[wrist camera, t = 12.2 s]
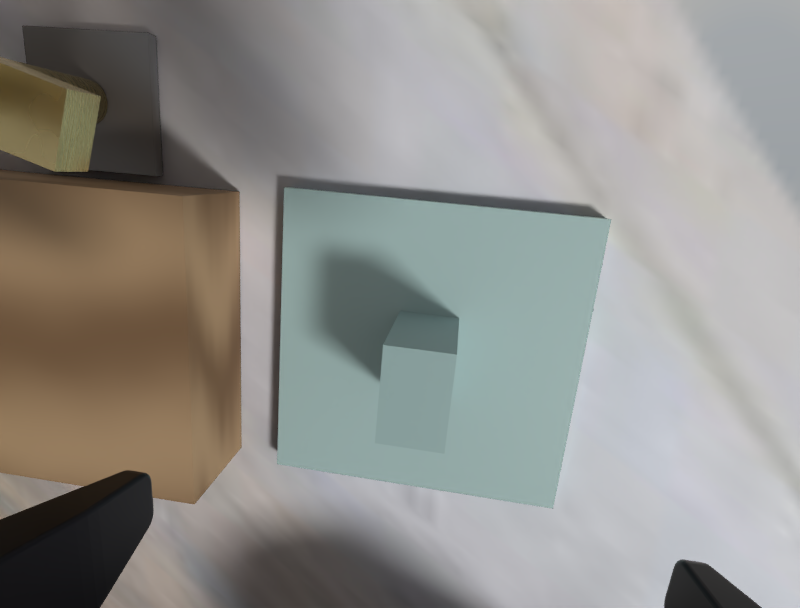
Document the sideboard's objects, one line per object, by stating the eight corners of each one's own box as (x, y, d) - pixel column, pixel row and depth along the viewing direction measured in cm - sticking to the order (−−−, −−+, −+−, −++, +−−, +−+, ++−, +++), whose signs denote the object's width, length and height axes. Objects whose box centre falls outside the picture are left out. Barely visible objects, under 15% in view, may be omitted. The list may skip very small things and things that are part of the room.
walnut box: (241, 447, 19) (194, 504, 16) (14, 413, 20) (-74, 460, 17) (238, 41, 15) (175, 4, 12) (-43, 24, 17) (-172, -14, 13)
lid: (547, 488, 19) (573, 586, 14) (288, 447, 20) (235, 526, 15) (600, 216, 16) (653, 231, 11) (296, 186, 17) (234, 189, 13)
